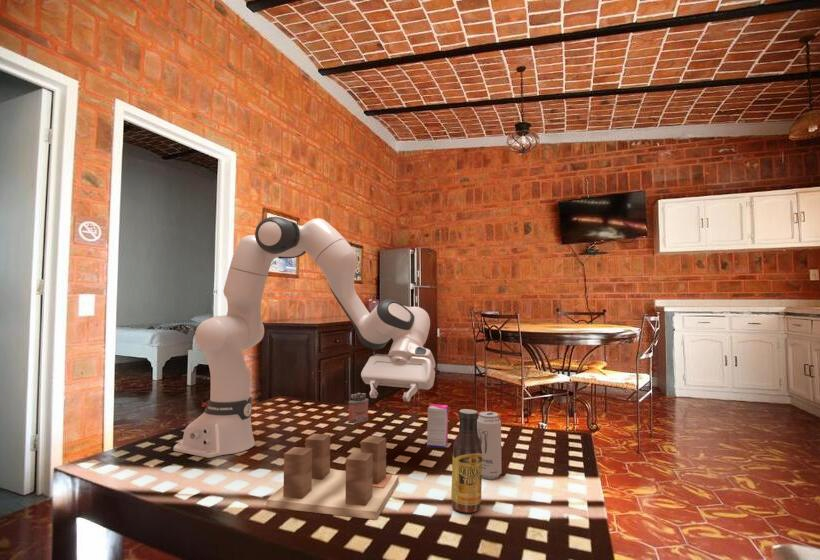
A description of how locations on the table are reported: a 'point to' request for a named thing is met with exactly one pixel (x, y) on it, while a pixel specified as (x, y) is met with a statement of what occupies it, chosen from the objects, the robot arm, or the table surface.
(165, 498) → the table surface
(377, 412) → the table surface
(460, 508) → the sauce bottle
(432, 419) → the supplement box
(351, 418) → the lighter
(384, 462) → the walnut peg
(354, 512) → the board
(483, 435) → the energy drink can
